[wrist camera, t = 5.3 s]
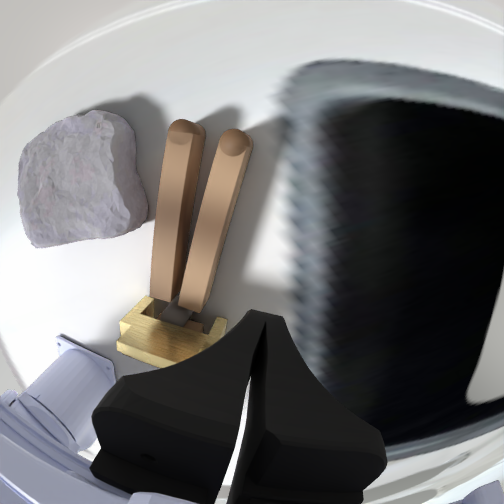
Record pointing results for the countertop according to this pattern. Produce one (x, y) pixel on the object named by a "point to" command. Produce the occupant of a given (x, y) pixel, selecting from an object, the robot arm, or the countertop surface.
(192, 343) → the yellow block
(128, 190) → the stone block
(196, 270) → the tong arm
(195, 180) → the tongs fixed
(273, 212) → the countertop surface
